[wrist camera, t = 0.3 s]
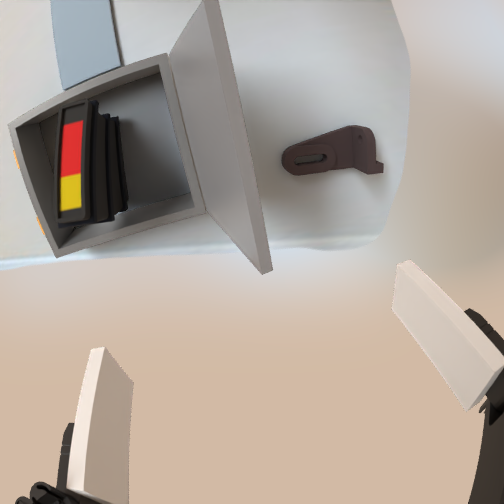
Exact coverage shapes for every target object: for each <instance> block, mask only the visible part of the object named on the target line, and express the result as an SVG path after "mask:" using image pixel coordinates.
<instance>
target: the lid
mask: <svg viewBox="0 0 504 504" xmlns="http://www.w3.org/2000/svg"><path fill="white" fill-rule="evenodd" d="M169 58H170V62H171V67H172V71H173V76H174V80H175V85H176V89H177V93H178V98H179V102H180V106H181V110H182V115H183V119H184V123H185V127H186V131H187V135H188V139H189V143H190V147H191V151H192V155H193V159H194V163H195V167H196V171H197V175H198V179H199V182H200V186H201V190H202V194H203V198H204V201H205V205H206V209H207V212H208V213H209V214H210V215H211V217H212V218H213V219H214V220H215V221H216V222H217V224H218V225H219V226H220V227H221V228H222V229H223V230H224V232H225V233H226V234H227V235H228V236H229V237H230V239H231V240H232V241H233V242H234V243H235V244H236V245H237V247H238V248H239V249H240V250H241V251H242V252H243V254H244V255H245V256H246V257H247V258H248V259H249V260H250V262H251V263H252V264H253V265H254V266H255V267H256V268H257V270H258V271H259V272H260V273H261V274H262V275H263V274H265V273H268V272H270V271H272V270H273V267H272V262H271V256H270V251H269V245H268V240H267V235H266V229H265V224H264V218H263V213H262V208H261V203H260V197H259V192H258V187H257V182H256V177H255V172H254V166H253V161H252V156H251V151H250V146H249V141H248V136H247V131H246V126H245V121H244V117H243V112H242V107H241V102H240V97H239V92H238V88H237V83H236V78H235V74H234V69H233V64H232V60H231V55H230V50H229V46H228V41H227V37H226V32H225V28H224V23H223V19H222V14H221V10H220V6H219V1H218V0H203V1H202V2H201V4H200V5H199V7H198V8H197V10H196V11H195V13H194V14H193V16H192V17H191V19H190V20H189V22H188V23H187V25H186V27H185V28H184V30H183V31H182V33H181V35H180V36H179V38H178V40H177V42H176V43H175V45H174V47H173V48H172V50H171V52H170V54H169Z"/></svg>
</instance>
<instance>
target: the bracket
mask: <svg viewBox="0 0 504 504" xmlns="http://www.w3.org/2000/svg"><path fill="white" fill-rule="evenodd" d="M316 154H323V159H322V160H320V161H314V162H306V163H298V164H295V163H294V160H295V158H296V157H299V156H307V155H316ZM282 164H283V166H284V168H285V169H286V170H287V171H288V172H290V173H291V174H293V175H306V174H313V173H321V172H326V171H329V170H336V169H344V168H353V167H354V168H356V169H358V170H360V171H362V172H364V173H366V174H377V173H383V163H381V162H378V161H376V144H375V137H374V134H373V132H372V131H371V130H370V129H369V128H367V127H362V126H357V125H352V126H346V127H343V128H340V129H337V130H334V131H331V132H329V133H326V134H323V135H320V136H317V137H314V138H312V139H309V140H306V141H303V142H301V143H298V144H295V145H293V146H290V147H288V148H287V149H286V150H285V151H284V153H283V155H282Z"/></svg>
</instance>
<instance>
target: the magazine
mask: <svg viewBox="0 0 504 504" xmlns="http://www.w3.org/2000/svg"><path fill="white" fill-rule="evenodd" d="M98 106H99V103H98V101H97V100H94V101H88V99H84V100H80V101H76V102H72V103H69V104H65V105H62V106H61V107H60V108H59V114H58V122H57V132H56V144H55V161H54V218H55V222H57V223H58V228H62V229H63V228H69V227H75V226H84V225H91V224H98V223H105V222H112V221H114V220H115V216H114V215H116V214H117V213H118V212H123V211H126V210H127V209H128V205H127V201H128V199H129V198H128V192H127V185H126V179H125V171H124V164H123V156H122V147H121V138H120V127H119V117H118V116H116V117H111V118H110V114H103V115H100V114H99V113H98Z"/></svg>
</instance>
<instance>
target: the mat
mask: <svg viewBox="0 0 504 504" xmlns="http://www.w3.org/2000/svg"><path fill="white" fill-rule="evenodd" d="M51 14H52V25H53V34H54V42H55V49H56V56H57V62H58V68H59V73H60V78H61V83H62V88H63V90H66V89H68V88H70V87H72V86H75V85H77V84H79V83H81V82H83V81H85V80H88V79H90V78H92V77H95V76H97V75H99V74H102V73H104V72H107V71H109V70H112V69H115V68H117V67H120V66H121V62H120V57H119V52H118V47H117V41H116V36H115V30H114V24H113V18H112V12H111V6H110V0H51Z"/></svg>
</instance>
